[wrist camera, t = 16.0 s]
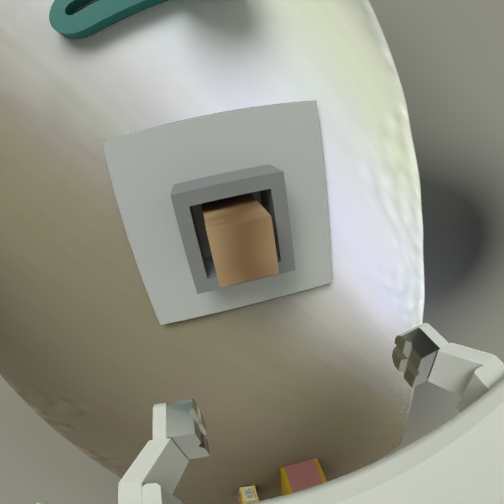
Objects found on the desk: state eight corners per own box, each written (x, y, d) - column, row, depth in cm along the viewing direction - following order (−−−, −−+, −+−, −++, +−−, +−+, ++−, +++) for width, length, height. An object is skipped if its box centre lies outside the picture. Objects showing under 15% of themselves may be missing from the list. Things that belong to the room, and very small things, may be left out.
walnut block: (211, 246, 29) (219, 287, 22) (201, 202, 27) (206, 230, 20) (256, 235, 29) (279, 273, 22) (248, 191, 27) (271, 216, 20)
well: (161, 319, 32) (158, 352, 27) (105, 142, 24) (86, 145, 19) (328, 278, 34) (349, 303, 29) (312, 101, 26) (337, 97, 21)
